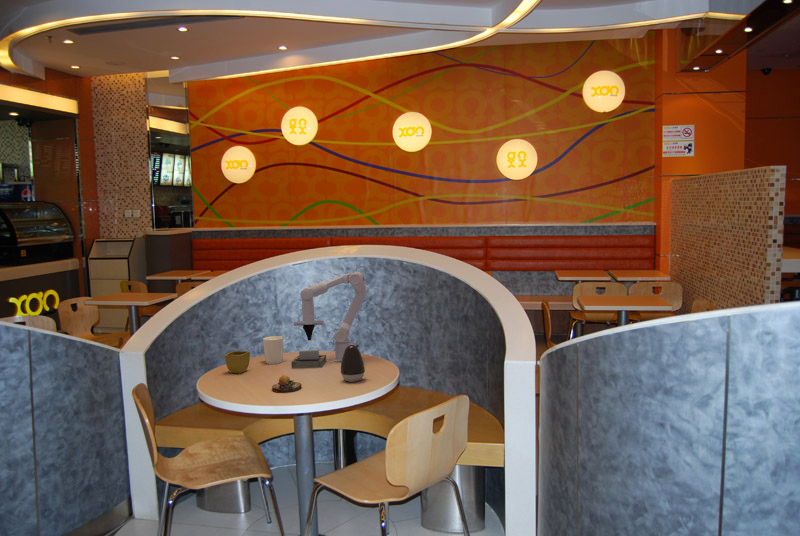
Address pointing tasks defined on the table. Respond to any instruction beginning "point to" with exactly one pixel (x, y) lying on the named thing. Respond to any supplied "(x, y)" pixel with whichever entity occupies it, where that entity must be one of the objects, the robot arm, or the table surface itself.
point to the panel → (309, 354)
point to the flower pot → (237, 361)
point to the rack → (309, 362)
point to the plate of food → (286, 385)
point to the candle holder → (273, 349)
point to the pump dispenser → (352, 364)
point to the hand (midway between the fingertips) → (309, 340)
